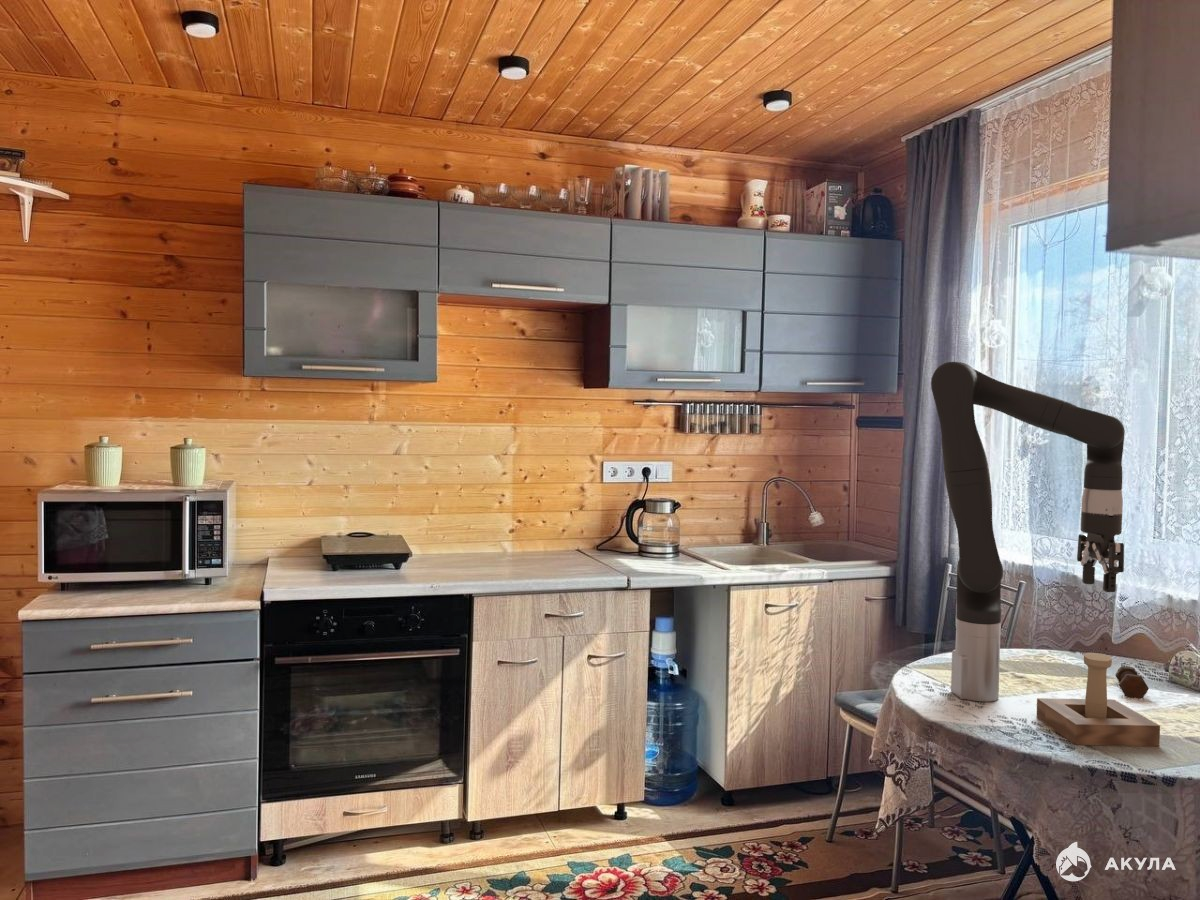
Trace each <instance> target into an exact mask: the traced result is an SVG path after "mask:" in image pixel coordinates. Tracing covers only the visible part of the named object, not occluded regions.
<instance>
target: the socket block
mask: <svg viewBox="0 0 1200 900" xmlns="http://www.w3.org/2000/svg"><path fill="white" fill-rule="evenodd" d="M1036 718H1037V719H1038V720H1040V721H1041V722H1042V723H1044V724H1045V725H1047V726H1049V728H1050V729H1052V730H1054V731H1055V732H1056V733H1058V734H1059V735H1061V736H1062V737H1064V738H1065V739H1067V740H1068V741H1070V743H1072V744H1074V745H1075V746H1118V747H1121V746H1123V747H1131V746H1132V747H1160V742H1161V741H1160V740H1161V738H1160V737H1161V725H1159V724H1158V723H1156V721H1155V722H1154V721H1153V720H1152V719H1149V718H1147V717H1146V716H1144V715H1142V714H1140V713H1138V712H1137V711H1135V710H1133V709H1132V708H1130V707H1129V706H1127V705H1125V704H1124V703H1121V702H1119V701H1117V700H1116V699H1110V698H1109V699H1108V698H1107V713H1106V718H1086V717H1085V698H1050V697H1049V698H1048V697H1046V698H1043V697H1041V698H1039V697H1038V698H1036Z"/></svg>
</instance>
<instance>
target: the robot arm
mask: <svg viewBox="0 0 1200 900" xmlns="http://www.w3.org/2000/svg"><path fill="white" fill-rule="evenodd" d="M930 386H931V387H930V389H931V392H932V397H933V399H934V400H933V401H934V403H935V408H936V411H937V415H938V416H937V417H938V419H939V421H938V422H939V425H940V426H939V427H940V434H941V450H942V461H943V470H944V472H943V473H944V479H945V486H946V493H947V496H948V500H949V505H950V509H951V513H952V516H953V520H954V523H955V525H956V527H955V528H956V530H957V531H956V533H957V538H958V539H957V540H958V543H957V544H958V561H957V566H956V567H957V568H956V602H955V606H956V609H955V610H956V620H955V621H956V622H955V623H956V625H955V649H953V650H952V651H951V674H950V675H951V677H950V678H951V679H950V691H951V693H953V694H954V695H955V696H957V697H958V698H959V699H960V700H969V701H975V702H986V703H987V702H995V701H997V700H999V697H1000V696H999V695H1000V694H999V693H1000V664H1001V663H1000V661H1001V660H1000V657H1001V626H1002V622H1001V621H1002V603H1001V597H1002V596H1001V592H1002V591H1001V590H1002V580H1003V577H1004V567H1003V564H1002V562H1001V558H1000V555H999V551H998V547H997V543H996V538H995V533H994V526H993V495H992V493H993V492H992V483H991V477H990V475H991V474H990V468H989V461H988V457H987V454H986V450H985V447H984V444H983V442H982V439H981V436H980V433H979V431H978V427H977V423H976V419H975V418H976V417H975V407H974V406H975V405H976V406H979V407H980V406H981V407H985V408H988V409H990V410H991V409H992V410H994V411H997V412H1000V413H1003V414H1005V415H1008V416H1009V417H1012V418H1014V419H1016V420H1019V421H1020V422H1022V423H1025V424H1028V425H1031V426H1033V427H1036V428H1039V429H1041V430H1045V431H1047V432H1050V433H1051V432H1052V433H1054V434H1056V435H1057V434H1058V435H1061V436H1067V437H1068V438H1071V439H1074V440H1075V441H1078V442H1081V443H1083V444H1086V462H1085V466H1084V473H1083V491H1082V496H1081V508H1080V509H1081V510H1080V511H1081V513H1080V531H1081V532H1082V533H1083V534H1082V533H1080V534H1078V541H1077V552H1076V553H1077V554H1076V560H1077V562H1078V563H1079V562H1080V564H1081V566H1082V578H1081V579H1082V580H1081V581H1082V584H1084V585H1093V584H1095V580H1096V579H1095V575H1096V567H1095V566H1096V564H1097V562H1098V564H1099V565H1101V566H1102V569H1103V577H1102V579H1103V581H1102V590H1103V592H1104V593H1115V592H1116V591H1117V590H1116V588H1117V575H1118V574H1120V573H1124V571H1125V564H1124V563H1125V544H1124V543H1123V542H1116V540H1115V536H1118V535H1121V534H1122V528H1123V506H1124V502H1123V501H1124V500H1123V499H1124V498H1123V466H1122V465H1123V463H1122V461H1123V454H1124V453H1123V452H1124V444H1125V443H1124V442H1125V426H1124V425H1123V422H1122V421H1121V420H1120V419H1118V418H1117V417H1116V416H1113V415H1109V414H1106V413H1102V412H1098V411H1095V410H1090V409H1088V408H1083V407H1079V406H1078V405H1076V404H1073V403H1071V402H1068V401H1065V400H1063V399H1059V398H1057V397H1054V396H1051V395H1047V394H1044V393H1040V392H1036V391H1032V390H1029V389H1025V388H1022V387H1019V386H1018V387H1017V386H1014V385H1010V384H1008V383H1005V382H1002V381H1000V380H997V379H995V378H993V377H990V376H989V375H986V374H985V373H982V372H981V371H979V370H977V369H975V368H973V367H972V366H971V365H969V364H967V363H965V362H961V361H960V362H959V361H947V362H944V363H942V364H941V365H939V366H937V368H936V369H935V370H934V372H933V374H932V375H931V381H930Z"/></svg>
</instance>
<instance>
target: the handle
mask: <svg viewBox="0 0 1200 900" xmlns="http://www.w3.org/2000/svg"><path fill="white" fill-rule="evenodd" d="M1112 662H1113V661H1112V657H1111V656H1109V655H1107V654H1104V653H1098V652H1086V653H1083V664H1085V666H1087V679H1086V689H1085V690H1086V691H1085V698H1084V699H1085V717H1086V718H1106V713H1107V699H1108V688H1107V670H1108V669H1109V668H1111V667H1112Z"/></svg>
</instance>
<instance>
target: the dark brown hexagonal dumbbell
mask: <svg viewBox="0 0 1200 900" xmlns="http://www.w3.org/2000/svg"><path fill="white" fill-rule="evenodd" d="M1115 678H1116V680H1117V681H1118V686H1119V688H1120V689H1121V691H1122V693H1123V695H1124V696H1125V698H1131V699H1143V698H1144V696H1146V694H1147V692H1148V691H1149V689H1150V688H1149V686H1148V684H1147V682H1146V681H1145V679H1144V678H1143V677H1142V675H1140V674H1138V672H1137V670H1136V669H1135V668H1134V667H1131V666H1124V665H1123V666H1120V667H1119V668H1118V669H1117V671H1116V673H1115Z"/></svg>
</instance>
